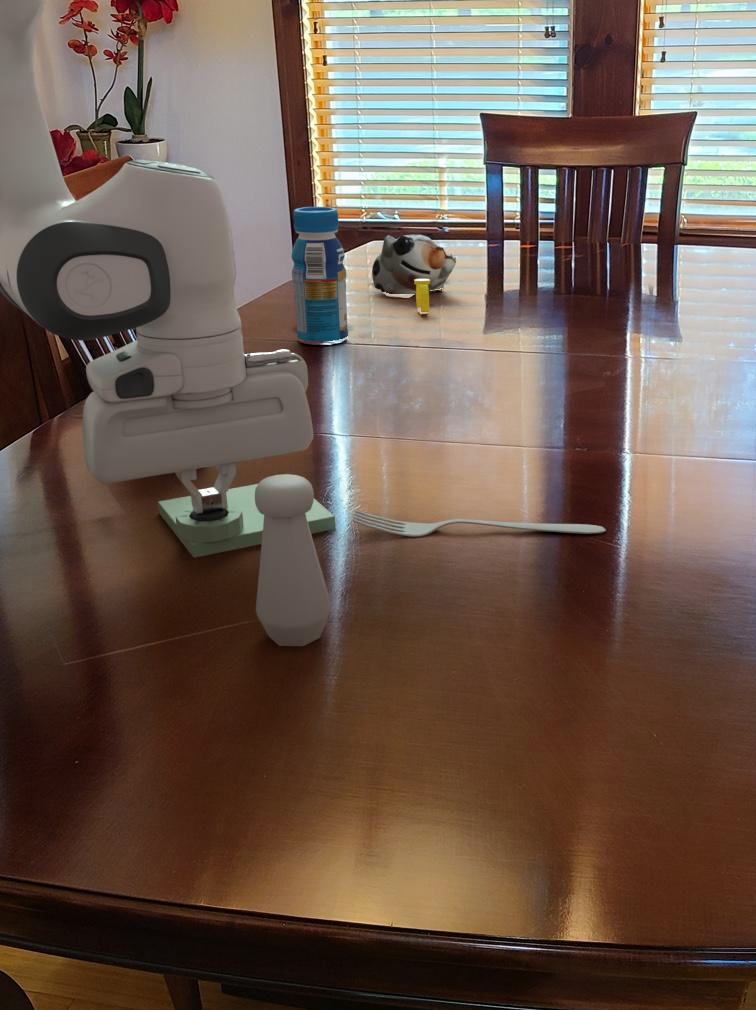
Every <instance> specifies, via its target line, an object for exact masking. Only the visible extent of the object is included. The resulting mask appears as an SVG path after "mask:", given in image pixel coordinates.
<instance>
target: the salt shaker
mask: <svg viewBox="0 0 756 1010" xmlns="http://www.w3.org/2000/svg"><path fill="white" fill-rule="evenodd" d="M257 484H258V485H257V487H256V488H255V504H256V507H257V509H258V511H259V512H260V513H261V514H263V515H264V523H263V534H262V544H260V545H261V546H260V547H261V548H260V558H259V559H260V560H259V568H258V570H259V571H258V580H257V592H256V600H255V601H256V602H255V613H256V616H257V618H258V621H259V622H260V623H261V625H262V628H263V629H264V631H265V633H266V634H267V637H269V639H271V640H272V641H273V642H274V643H275V644H276V645H277V646H279V647H305V646H306V645H309V644H310V643H312V642H315V641H317V640H319V639H320V638H321V636H322V634H323V631H324V629H325V627H326V624H327V622H328V619H329V616H330V613H331V608H332V602H331V598H330V595H329V591H328V587H327V584H326V580H325V578H324V577H325V576H324V574H323V570H322V567H321V563H320V560H319V557H318V556H319V555H318V553H317V550H316V546H315V543H314V538H313V536H312V534H311V532H310V528H309V525H308V521H307V518H306V514H305V513H306V512H308V511H310V510H311V508H312V505H313V502H314V499H315V498H314V496H315V492H314V488H313V485H312V484H311V482H310V481H309V480H308V479H306V478H305V477H304V476H300V475H298V474H290V473H285V474H275V475H271V476H267V477H265V478H263V479H262V480H260V482H258V483H257Z"/></svg>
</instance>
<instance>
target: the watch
mask: <svg viewBox="0 0 756 1010" xmlns="http://www.w3.org/2000/svg"><path fill="white" fill-rule="evenodd" d="M414 284H416V295H415V299H416V300H415V303H416V308H417V307H421V312H429V313H430V292H429V290H428V284H430V279H415V280H414Z"/></svg>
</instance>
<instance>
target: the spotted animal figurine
mask: <svg viewBox="0 0 756 1010" xmlns="http://www.w3.org/2000/svg"><path fill="white" fill-rule="evenodd" d="M381 248H382V249H381V253H380V254H379V255H378V256H377V257H376V258H375V260H374V261H373V264H372V269H371V275H372V276H371V277H372V282H373V286H374V289H376V290H378V291H379V290H380V292H381V293H382V292H386V293H389V294H416V284H414V280H415V279H430V284H428V290H429V291H430V290H435V289H440V288H443V289H445V283H446V281H447V280H448V278H449V277H450V275H451V274H452V272H453V270H454V267H455V266H456V263H457V260H456V259H457V257H456V256H453V254H452V253H450V254H447V253H446V251H445V248H444V247H442V246H439V245H438V244H437V243H436V242H434V241H433V240H432V239H431V238H430V237H429V236H426V235H423V234H413V233H411V234H406V235H400V236H399V237H398V238H395V237H393V236H391V234H390V235H389V234H388V235H387V236H386V237H385V238H383V244H382V247H381Z"/></svg>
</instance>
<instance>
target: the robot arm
mask: <svg viewBox="0 0 756 1010" xmlns="http://www.w3.org/2000/svg"><path fill="white" fill-rule="evenodd" d="M46 3H47V0H0V294H2V295H3V297H4V298H5V299H6V300H7V301H8V302H9V303H10V304H11V305H13V306H14V307H16V308H17V309H19V310H20V311H22V312H23V313H25V314H26V315H27V316H29V317H30V318H31V319H32V320H33V321H35V323H37V325H39V326H40V327H42V328H43V329H45V331H48V332H49V333H50V334H51V333H52V334H53V335H55V336H57V337H60V338H64V339H68V340H71V341H92V340H97V339H102V338H106V337H109V336H113V335H116V334H120V333H123V332H126V331H129V330H133V329H135V334H136V339H135V340H134V341H132V342H130V343H127V344H126V345H123V346H122V347H119V348H117V349H115V350H113V351H111V352H108V353H106V354H104V355H102V356H99V357H96V358H95V359H93V360H91V361H89V362H88V363H87V365H86V367H85V373H86V378H87V381H88V385H89V386H90V388H91V389H92V391H91V393H89V395H88V396H87V397H86V399H85V401H84V403H83V407H82V408H83V409H82V441H83V442H82V443H83V452H84V460H85V464H86V467H87V470H88V472H89V473H90V475H92V477H94V478H95V480H97V481H98V482H100V483H101V484H102V485H110V484H115V483H121V482H128V481H133V480H138V479H144V478H145V479H146V478H149V477H151V478H152V477H156V476H161V475H167V474H173V473H175V476H176V478H177V479H178V480H179V481H180V482H181V484H182V485H183V486H184V487H185V488H186V490H187V491H188V492H189V493H190V496H191V501H192V507H193V510H194V511H195V512H196V514H201V513H205V512H210V511H216V510H222V509H227V508H228V504H227V494H226V492H227V491H228V489H230V488H231V485H232V483H233V482H234V479H235V477H236V475H237V465H236V463H237V462H243V461H250V460H255V459H261V458H267V457H274V456H278V455H285V454H291V453H296V452H302V451H305V450H308V448H309V446H310V445H311V444H312V442H313V440H314V429H313V421H312V415H311V410H310V406H309V401H308V398H307V397H308V396H307V393H306V392H307V390H308V387H309V374H308V373H309V372H308V371H309V370H308V365H307V362H306V361H305V359H304V358H303V357H302V356H301V355H299V354H297V353H294V352H291V350H290V349H277V350H275V351H271V352H253V353H245V348H244V339H243V327H242V319H241V316H240V313H239V310H238V308H237V305H236V301H235V283H236V279H237V265H236V264H237V263H236V255H235V254H236V253H235V247H234V239H233V233H232V227H231V221H230V216H229V210H228V207H227V203H226V199H225V195H224V192H223V190H222V187H221V185H220V183H219V182H218V181H217V180H216V179H215V177H213V176H212V175H210V174H209V173H208V172H206V171H204V170H202V169H200V168H197V167H193V166H190V165H183V164H179V163H175V162H174V163H173V162H168V161H161V160H153V159H133V160H131V161H130V160H129V161H127V162H125V163H124V164H123V166H122V167H120V169H119V171H118V172H117V173H116V174H114V175H113V176H112V177H111V178H110V179H108V180H107V181H105V182H104V183H103V184H102V185H101V186H99V187H97V188H96V189H95V190H93V191H92V192H90V193H88V194H87V195H85V196H83V197H81V198H79V199H77V200H76V199H75V197H74V196H73V195H72V193H71V191H70V189H69V187H68V186H67V184H66V182H65V179H64V175H63V173H62V169H61V165H60V162H59V159H58V155H57V152H56V149H55V146H54V143H53V138H52V135H51V133H50V129H49V126H48V121H47V119H46V115H45V112H44V109H43V106H42V101H41V98H40V95H39V90H38V86H37V82H36V74H35V60H34V59H35V47H36V46H35V45H36V39H37V33H38V29H39V25H40V21H41V18H42V14H43V12H44V9H45V5H46ZM209 467H214V468H215V469H216V470H217V471H218V474H217V476H216V480H215V482H214V484H213V486H211V487H207V488H206V487H205V488H201V489H198V488H197V487H196V485H195V484H194V483H193V482H192V481H196V480H198V474H197V469H202V468H209Z"/></svg>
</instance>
